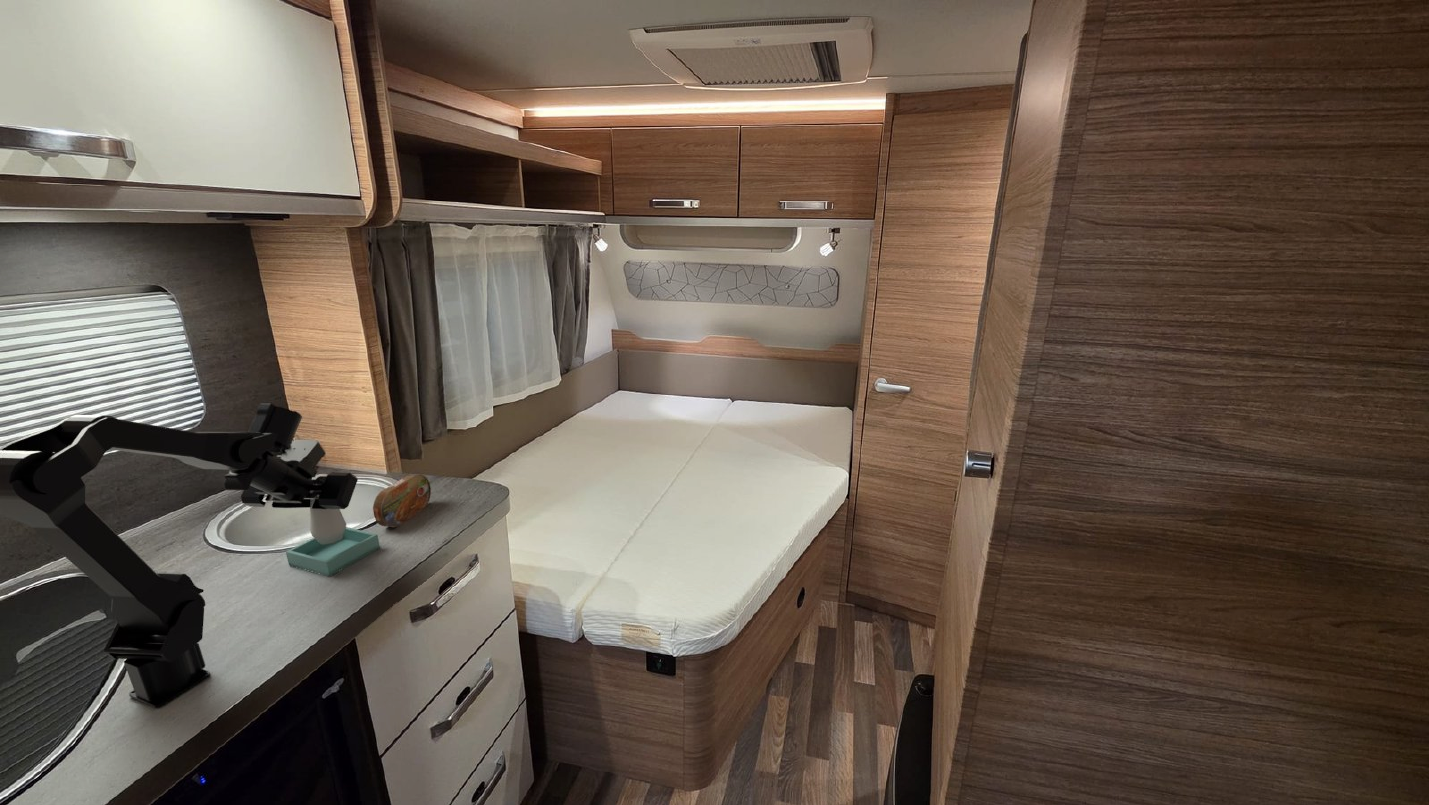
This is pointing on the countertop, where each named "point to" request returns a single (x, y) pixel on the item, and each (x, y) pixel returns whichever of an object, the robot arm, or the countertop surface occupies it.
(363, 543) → the tray
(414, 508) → the tin
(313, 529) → the salt shaker
